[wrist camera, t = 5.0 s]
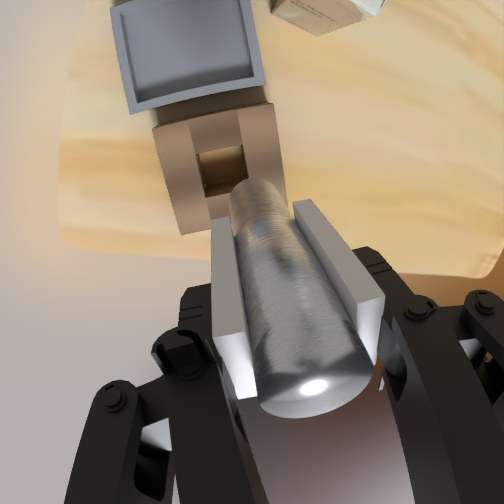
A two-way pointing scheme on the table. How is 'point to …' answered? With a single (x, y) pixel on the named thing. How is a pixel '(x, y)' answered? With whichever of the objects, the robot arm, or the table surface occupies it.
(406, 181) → the table surface
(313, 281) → the pin
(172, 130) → the brown block with hole
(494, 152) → the table surface
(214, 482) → the robot arm
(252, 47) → the tray
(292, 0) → the box
